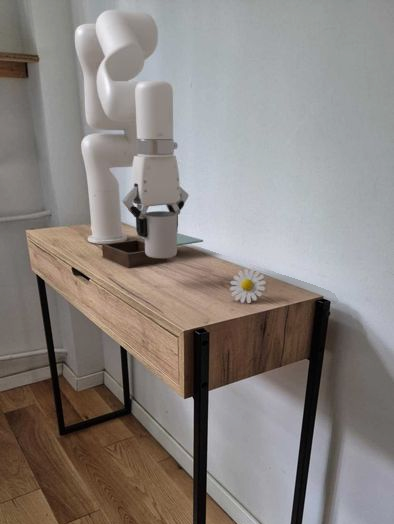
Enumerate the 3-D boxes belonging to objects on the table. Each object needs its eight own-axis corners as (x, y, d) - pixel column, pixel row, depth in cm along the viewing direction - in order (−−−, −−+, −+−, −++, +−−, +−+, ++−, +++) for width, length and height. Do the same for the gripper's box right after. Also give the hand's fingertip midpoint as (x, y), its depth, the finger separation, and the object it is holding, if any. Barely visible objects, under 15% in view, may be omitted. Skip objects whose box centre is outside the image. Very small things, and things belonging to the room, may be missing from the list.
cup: (151, 259, 105) (150, 218, 101) (137, 249, 113) (135, 210, 109) (182, 256, 108) (182, 215, 104) (165, 246, 116) (165, 208, 112)
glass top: (141, 238, 142) (141, 231, 141) (174, 233, 148) (173, 227, 147) (169, 247, 131) (169, 239, 130) (203, 241, 137) (203, 234, 136)
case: (102, 257, 136) (101, 244, 134) (138, 251, 142) (137, 239, 141) (128, 268, 125) (127, 254, 124) (165, 261, 132) (165, 248, 130)
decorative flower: (226, 253, 109) (262, 269, 96) (243, 270, 112) (280, 287, 100) (205, 280, 109) (238, 299, 97) (222, 296, 113) (256, 316, 100)
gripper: (179, 146, 108) (179, 226, 116) (109, 149, 99) (115, 236, 106) (199, 148, 103) (198, 232, 110) (128, 151, 93) (132, 242, 101)
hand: (157, 233), depth 108 cm, fingers closed on cup, 7 cm apart
